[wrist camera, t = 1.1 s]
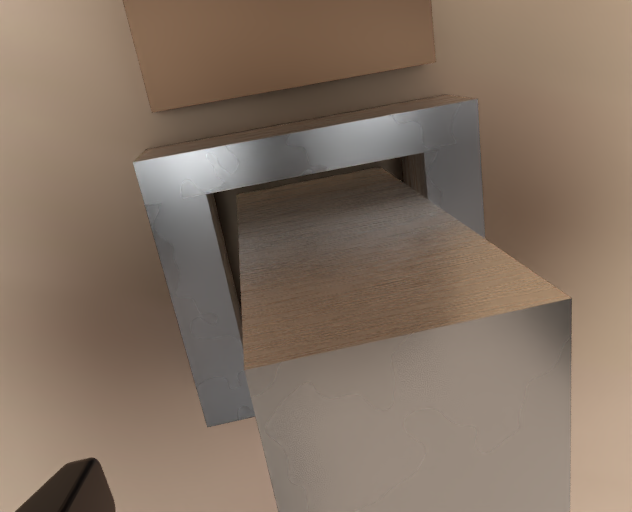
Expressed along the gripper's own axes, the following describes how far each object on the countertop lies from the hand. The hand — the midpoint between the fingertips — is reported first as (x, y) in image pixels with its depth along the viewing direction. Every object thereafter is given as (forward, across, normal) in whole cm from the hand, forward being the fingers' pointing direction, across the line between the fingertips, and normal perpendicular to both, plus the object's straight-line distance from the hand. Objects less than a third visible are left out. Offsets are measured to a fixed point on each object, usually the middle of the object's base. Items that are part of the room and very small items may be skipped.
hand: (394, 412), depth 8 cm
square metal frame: (+8, 0, 0) cm, 8 cm away
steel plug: (+8, 0, 0) cm, 8 cm away
